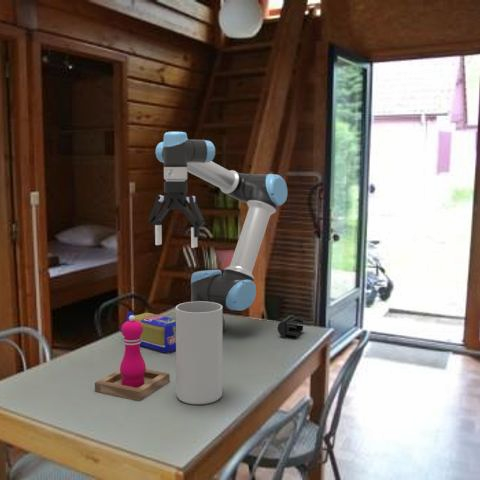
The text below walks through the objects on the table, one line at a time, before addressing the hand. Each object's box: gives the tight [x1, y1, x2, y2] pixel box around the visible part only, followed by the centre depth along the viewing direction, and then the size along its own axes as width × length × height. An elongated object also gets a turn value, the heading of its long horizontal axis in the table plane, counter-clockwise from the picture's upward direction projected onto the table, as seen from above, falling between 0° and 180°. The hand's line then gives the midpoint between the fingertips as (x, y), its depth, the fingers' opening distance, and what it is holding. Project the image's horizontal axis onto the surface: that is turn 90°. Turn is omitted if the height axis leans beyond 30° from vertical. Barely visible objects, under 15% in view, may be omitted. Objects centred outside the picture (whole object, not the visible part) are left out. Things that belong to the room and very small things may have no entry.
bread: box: [119, 310, 176, 354], centre depth 194 cm, size 10×25×10 cm, turn 51°
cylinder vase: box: [175, 301, 223, 405], centre depth 149 cm, size 12×12×25 cm
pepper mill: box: [119, 315, 147, 388], centre depth 155 cm, size 7×7×20 cm
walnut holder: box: [94, 368, 171, 402], centre depth 156 cm, size 15×15×2 cm
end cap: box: [277, 314, 304, 341], centre depth 205 cm, size 10×7×7 cm
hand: (176, 246), depth 179 cm, fingers open, 13 cm apart
